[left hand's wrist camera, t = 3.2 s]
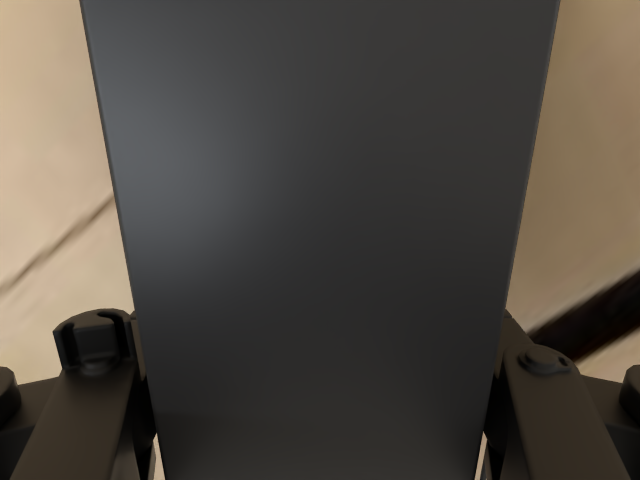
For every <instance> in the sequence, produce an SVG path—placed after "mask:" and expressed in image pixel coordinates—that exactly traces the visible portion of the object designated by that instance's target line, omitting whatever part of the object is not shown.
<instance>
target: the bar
mask: <svg viewBox="0 0 640 480" xmlns="http://www.w3.org/2000/svg"><path fill="white" fill-rule="evenodd" d="M79 1H80V7H81V13H82V18H83V24H84V29H85V35H86V40H87V46H88V52H89V57H90V63H91V68H92V74H93V80H94V85H95V91H96V96H97V102H98V107H99V113H100V119H101V124H102V130H103V135H104V141H105V146H106V152H107V158H108V163H109V169H110V174H111V180H112V186H113V191H114V197H115V202H116V208H117V213H118V219H119V225H120V230H121V236H122V241H123V247H124V252H125V258H126V264H127V269H128V275H129V280H130V286H131V291H132V297H133V303H134V308H135V314H136V319H137V325H138V331H139V336H140V342H141V347H142V353H143V358H144V364H145V370H146V375H147V381H148V386H149V392H150V397H151V403H152V409H153V414H154V420H155V425H156V431H157V436H158V442H159V448H160V453H161V459H162V464H163V470H164V476H165V480H475V474H476V468H477V463H478V457H479V452H480V446H481V441H482V435H483V429H484V424H485V418H486V413H487V407H488V401H489V396H490V390H491V385H492V379H493V374H494V368H495V362H496V357H497V351H498V346H499V340H500V334H501V329H502V323H503V318H504V312H505V307H506V301H507V295H508V290H509V284H510V279H511V273H512V267H513V262H514V256H515V251H516V245H517V240H518V234H519V228H520V223H521V217H522V212H523V206H524V200H525V195H526V189H527V184H528V178H529V173H530V167H531V161H532V156H533V150H534V145H535V139H536V133H537V128H538V122H539V117H540V111H541V106H542V100H543V94H544V89H545V83H546V78H547V72H548V66H549V61H550V55H551V50H552V44H553V39H554V33H555V27H556V22H557V16H558V11H559V5H560V0H79Z"/></svg>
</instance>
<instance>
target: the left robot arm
mask: <svg viewBox="0 0 640 480" xmlns="http://www.w3.org/2000/svg"><path fill="white" fill-rule="evenodd" d="M53 335H54V339H55V343H56V346H57V350H58V354H59V358H60V362H61V365H62V371H61V373H60V375H59V377H55V378H51V379H46V380H41V381H36V382H31V383H26V384H21V385H17V382H16V379H15V375H14V372H13V371H11V370H10V369H9V368H7V367H0V480H154V471H155V463H156V455H155V449H154V444H153V439H154V437H155V435H156V433H157V431H156V425H155V420H154V414H153V409H152V403H151V397H150V392H149V386H148V381H147V375H146V370H145V364H144V358H143V353H142V347H141V342H140V336H139V331H138V325H137V319H136V314H135V311H133V312H132V314H131V315H129V314H128V313H126V312H125V311H123V310H118V309H113V308H112V309H97V310H92V311H87V312H84V313H81V314H78V315H75V316H73V317H71V318H69V319H67V320H65V321H64V322H62V323H60V324H59V325H58V326H57V327H56V328H55V329H54V330H53ZM483 431H484V433H485V436H486V438H487V444H486V449H485V454H484V460H483V465H482V471H481V476H480V480H486V479H487V480H640V365H633V366H632V367H630V368H629V369H628V370H627V371H626V374H625V377H624V381H623V383H618V382H613V381H608V380H603V379H598V378H593V377H588V376H584V375H581V374H580V372H579V370H578V368H577V367H576V366H575V364H574V363H573V362H572V361H571V360H570V359H569V358H567V357H566V356H564V355H563V354H562V353H560V352H558V351H556V350H553V349H551V348H549V347H546V346H542V345H537V344H534V343H533V342H532V340H531V339H530V338H529V337H528V335H527V334H526V333H525V332H524V331H523V329H522V328H521V327H520V326H519V324H518V323H517V322H516V321H515V319H514V318H512V316H511V315H510V313H509V312H508V311H507V310H506V309H505V312H504V318H503V323H502V329H501V334H500V340H499V346H498V351H497V357H496V362H495V368H494V374H493V379H492V385H491V390H490V396H489V401H488V407H487V413H486V418H485V424H484V429H483Z"/></svg>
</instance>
